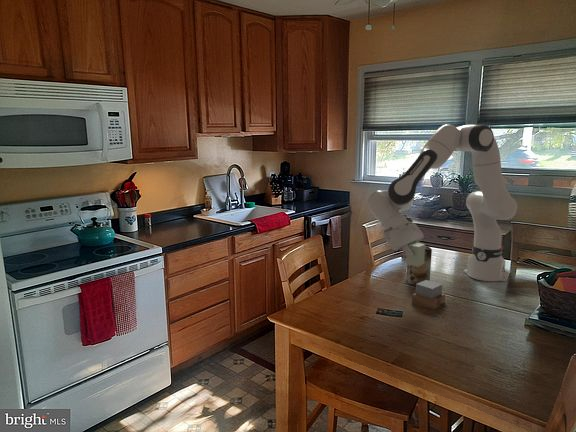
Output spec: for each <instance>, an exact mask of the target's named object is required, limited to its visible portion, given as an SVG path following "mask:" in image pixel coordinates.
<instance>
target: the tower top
mask: <svg viewBox="0 0 576 432" xmlns="http://www.w3.org/2000/svg"><path fill="white" fill-rule="evenodd" d="M415 293H416V294H418V295H421V296H424V297H427V298H430V299H433V298H435V297H437V296H439V295H441V294H442V293H443V284H441V283H438V282H435V281H432V280H430V281H428V280H425V281H422V282H420V283H417V284H415Z"/></svg>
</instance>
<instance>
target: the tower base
mask: <svg viewBox="0 0 576 432" xmlns="http://www.w3.org/2000/svg"><path fill="white" fill-rule="evenodd" d="M411 300H412V301H411V302H412V304H414V305H417V306H420V307H424V308H427V309H430V310H432V311H433V310H436V309H437V308H439V307H441V306H442V305H444V304H445V303H446V294H445V293H444V292H442V294H441V295H439V296H437V297H435V298H433V299H430V298H427V297H424V296H421V295H418V294H416V292H415V293H412V299H411Z"/></svg>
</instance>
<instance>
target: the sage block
mask: <svg viewBox="0 0 576 432" xmlns="http://www.w3.org/2000/svg"><path fill="white" fill-rule="evenodd" d="M425 246H426V244H425V243H421V242H420V243H415V242H413V243H410V244H408V248H409V249H411V250H413V251H414V252H415V255H413V256H411V257H410V256H409V254H408V253H406V263H405V265H407V264H408V265H412V266H416V267H419V266H421V265H423V264H424V258H425Z"/></svg>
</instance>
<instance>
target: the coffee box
mask: <svg viewBox="0 0 576 432" xmlns="http://www.w3.org/2000/svg"><path fill="white" fill-rule="evenodd" d="M432 252H433V249H432V248H431V247H430V246H429V245H425V258H424V264H423V265H421V266H419V267H416V266H412V265H408V264H406V278H405V279H406V281H407V283H408V284H409V285H412V284H413V285H416V284H417V283H420V282H422V281H425V280H428V281H431V280H430V279H431V270H432V269H431V268H432V267H431V266H432Z"/></svg>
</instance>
